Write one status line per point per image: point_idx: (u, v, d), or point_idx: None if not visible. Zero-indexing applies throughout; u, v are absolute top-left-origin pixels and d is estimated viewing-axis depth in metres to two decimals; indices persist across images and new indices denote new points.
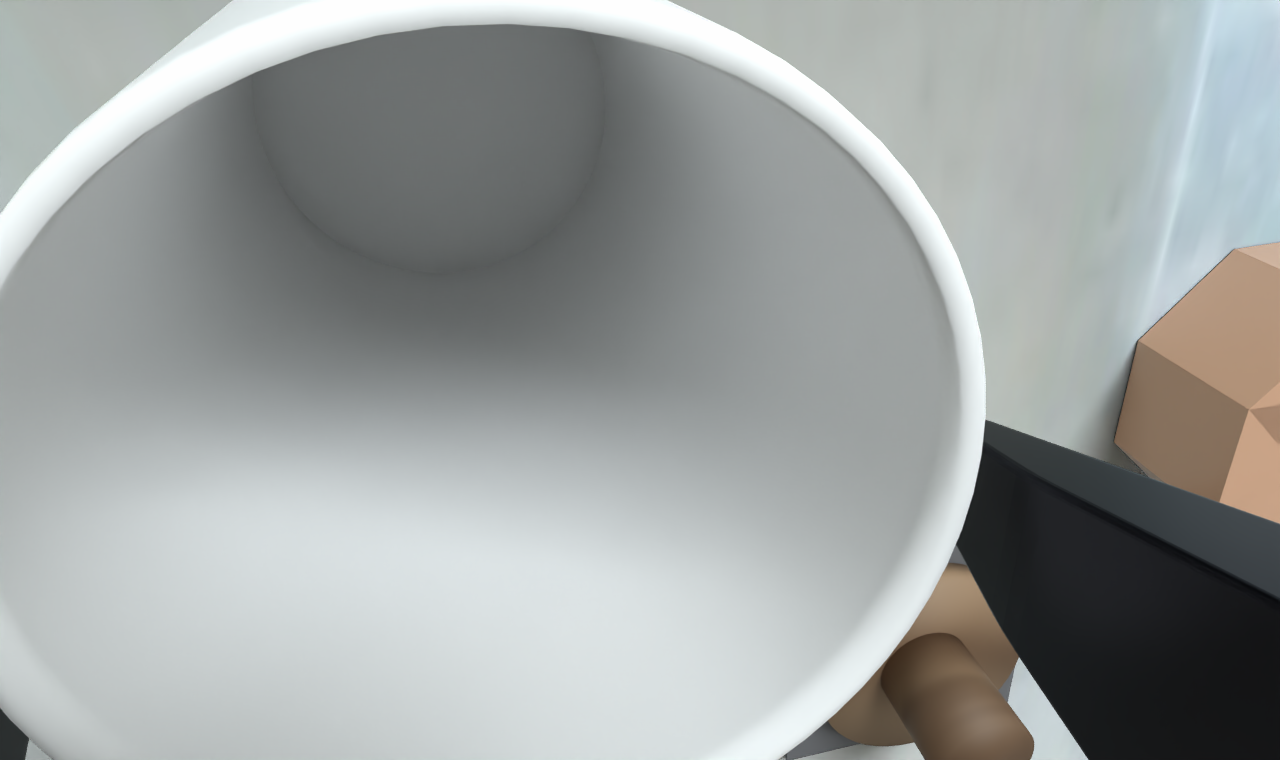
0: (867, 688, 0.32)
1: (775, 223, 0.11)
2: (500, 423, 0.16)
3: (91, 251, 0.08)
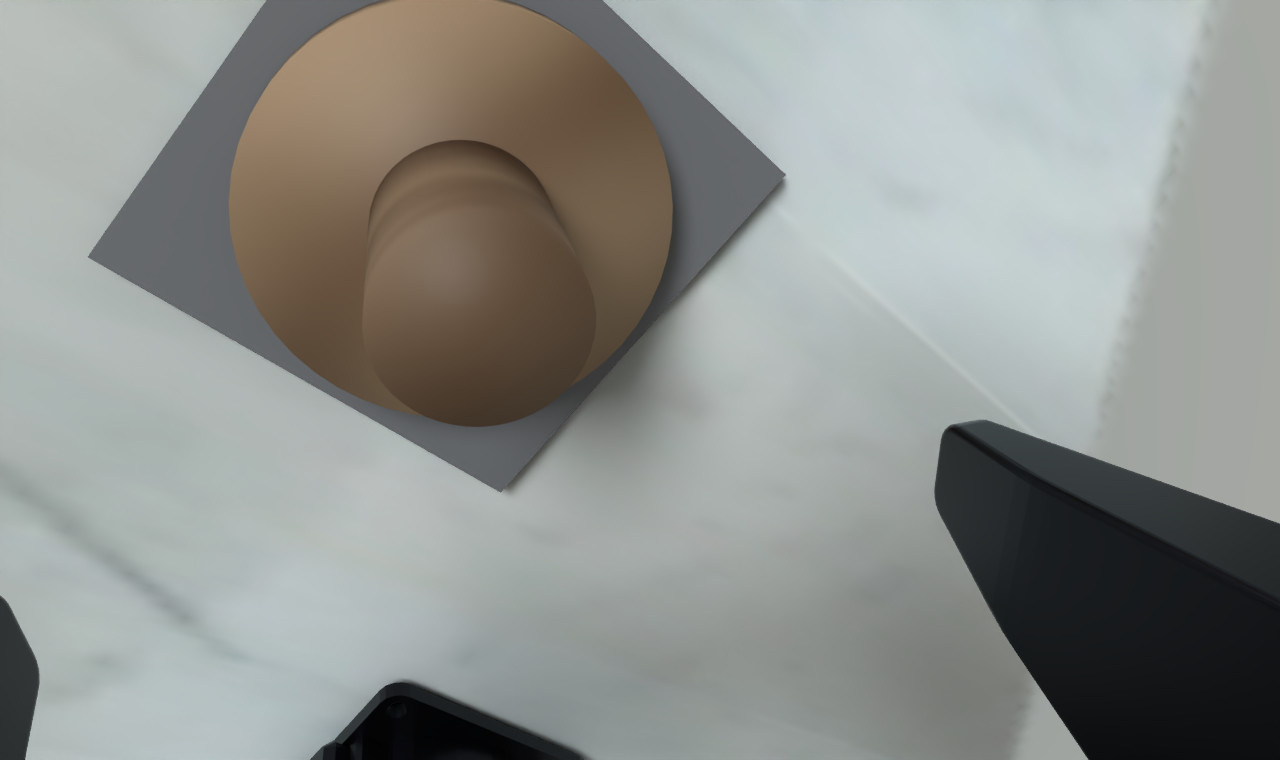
0: None
1: None
2: None
3: None
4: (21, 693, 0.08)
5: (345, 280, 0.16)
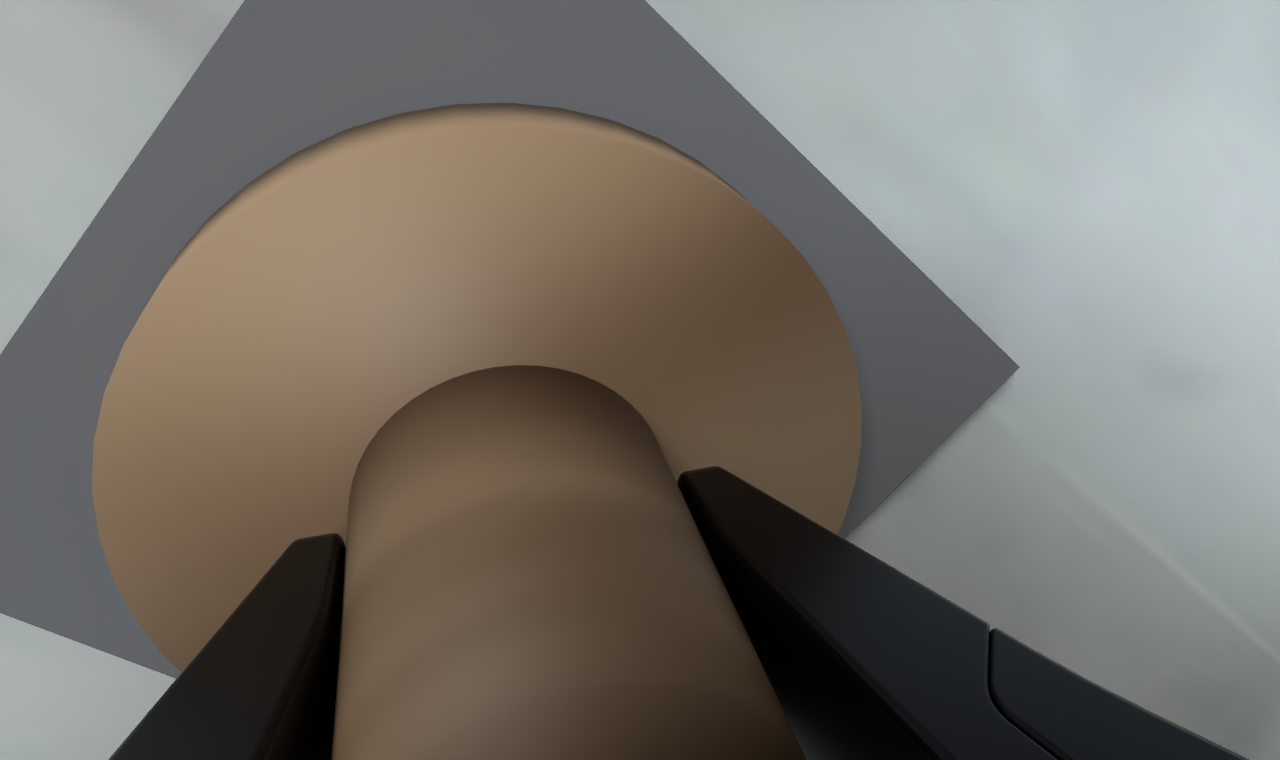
0: None
1: None
2: None
3: None
4: None
5: None
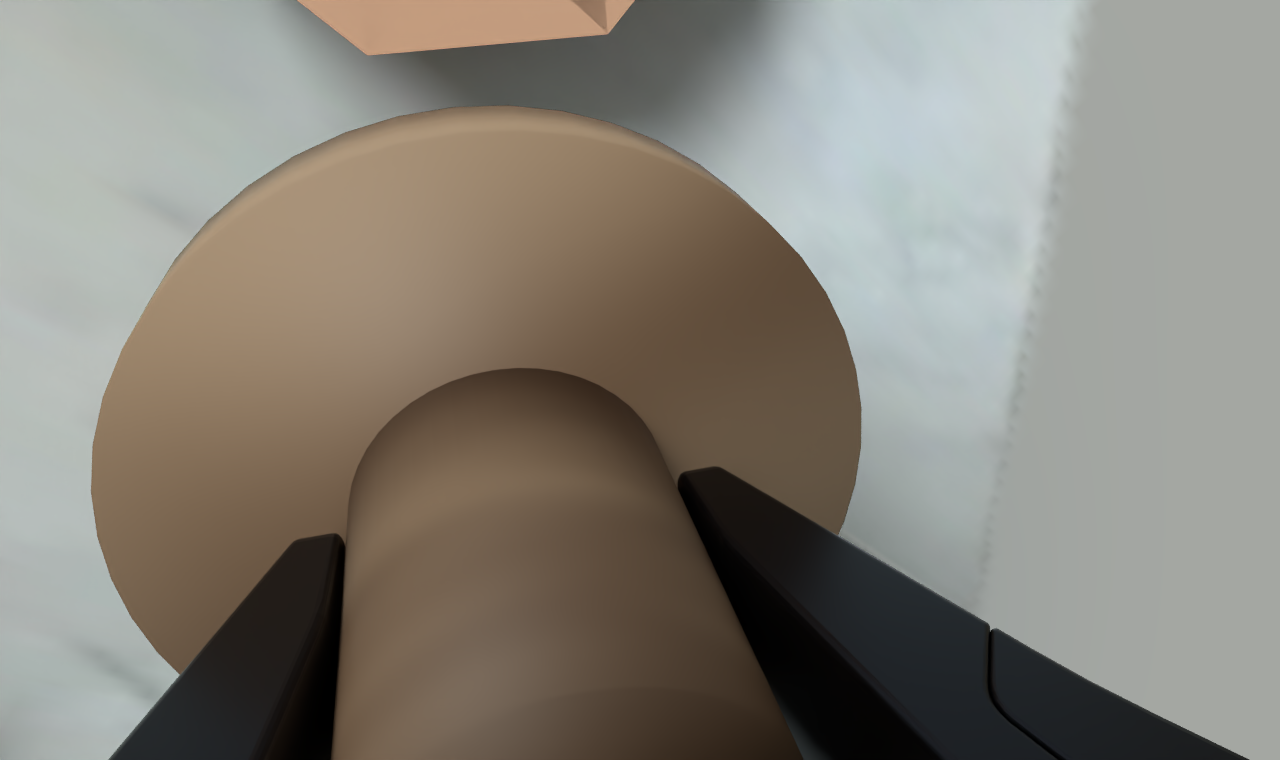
0: None
1: None
2: None
3: None
4: None
5: None
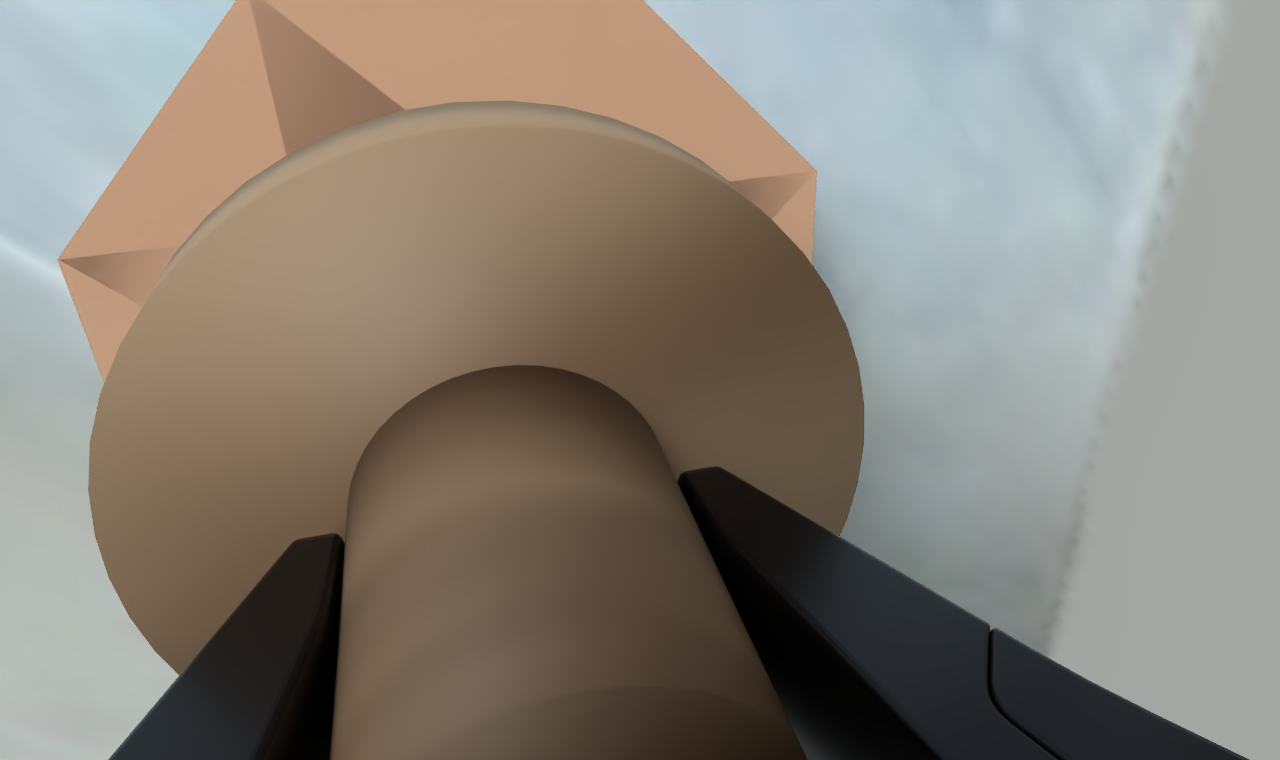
0: None
1: None
2: None
3: None
4: None
5: None
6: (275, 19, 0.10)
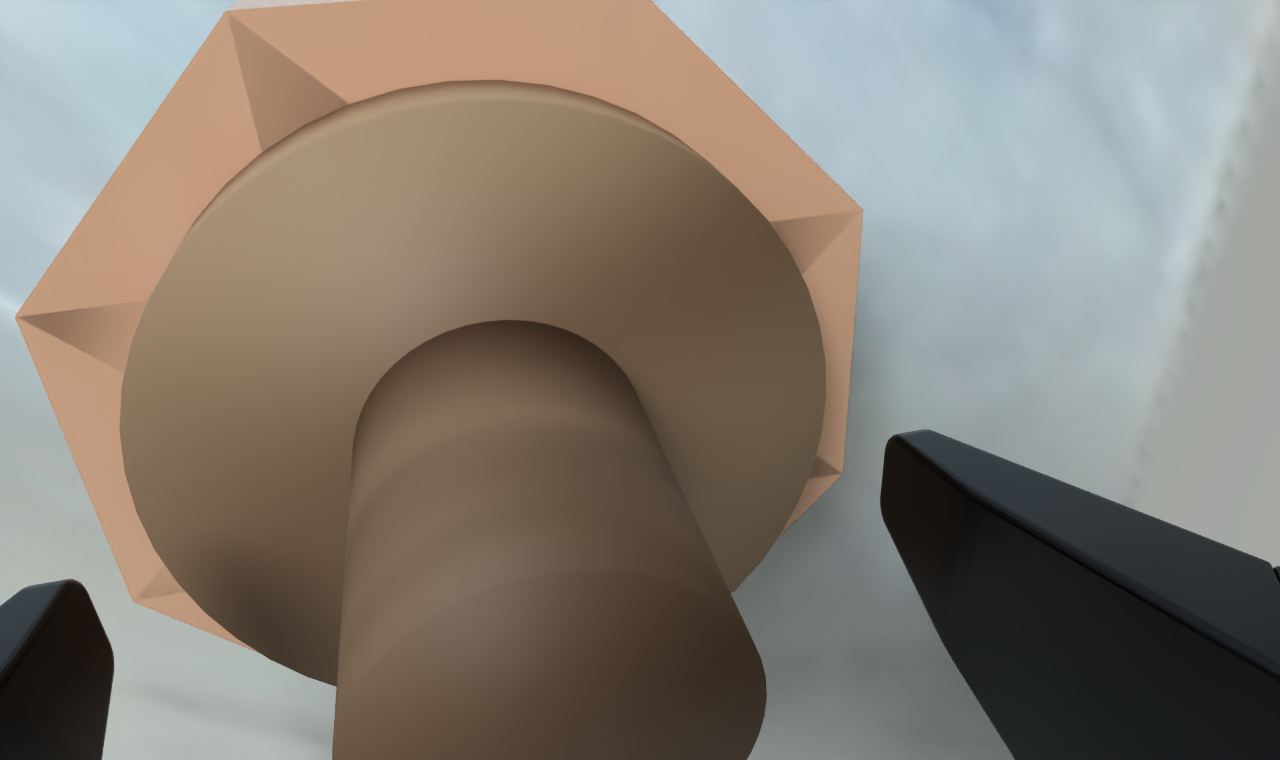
0: None
1: None
2: None
3: None
4: (99, 678, 0.08)
5: (316, 532, 0.10)
6: (259, 48, 0.09)
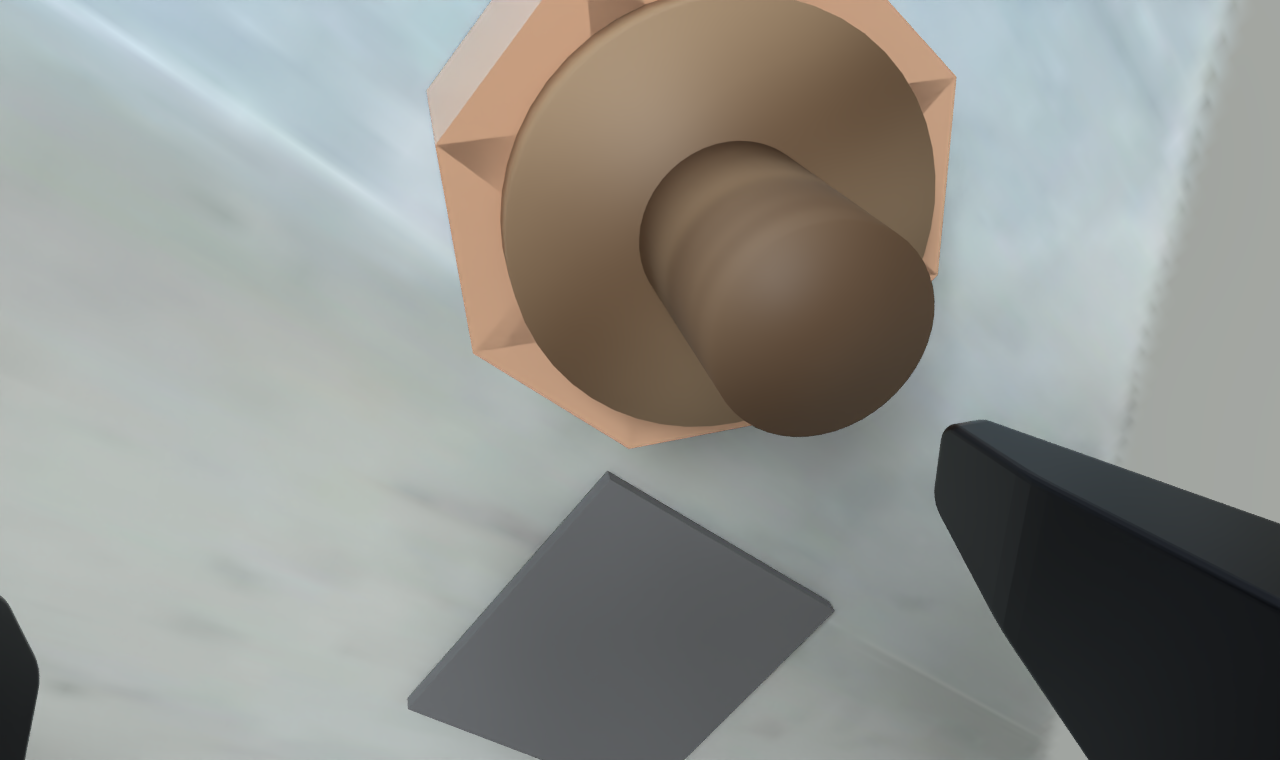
0: (669, 336, 0.16)
1: None
2: None
3: None
4: (21, 693, 0.08)
5: (611, 288, 0.16)
6: None
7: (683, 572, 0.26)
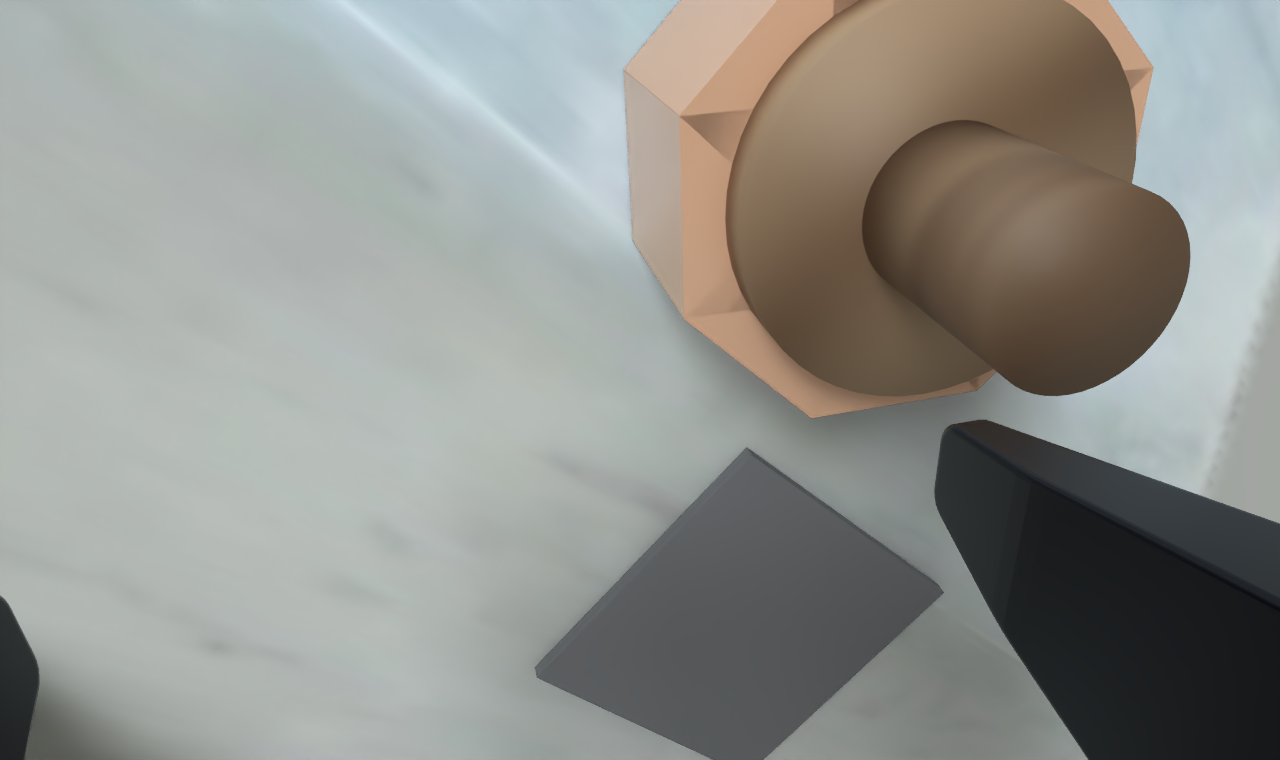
0: (876, 307, 0.17)
1: None
2: None
3: None
4: (21, 693, 0.08)
5: (831, 258, 0.17)
6: None
7: (808, 549, 0.27)
